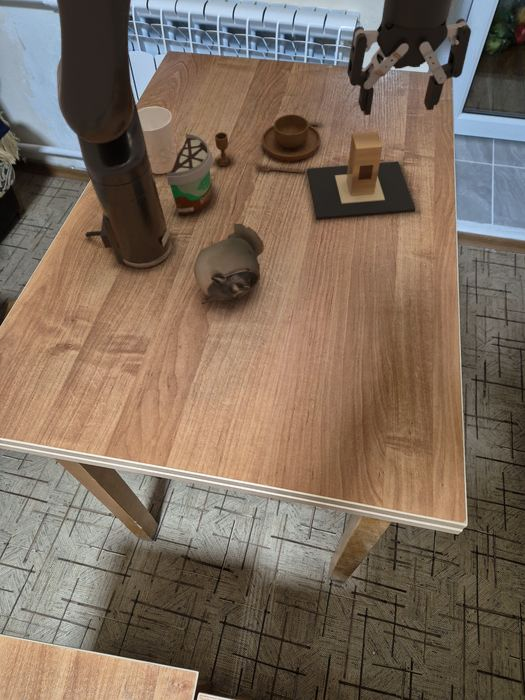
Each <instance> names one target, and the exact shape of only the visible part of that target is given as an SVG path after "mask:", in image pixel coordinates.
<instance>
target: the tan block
mask: <svg viewBox="0 0 525 700" xmlns="http://www.w3.org/2000/svg"><path fill="white" fill-rule="evenodd" d="M382 152H383V144H382V140H381V138H380V135H379V131H378V130H374V131H373V130H372V131H364V132H363V131H361V132H352V133H351V138H350V146H349V154H348V162H347V165H348V170H347V179H346V181H347V185H348V189H349V193H350V196H357V195H369V194H374V192H375V187H376V181H377V175H378V170H379V164H380V163H381V157H382Z"/></svg>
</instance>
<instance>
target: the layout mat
mask: <svg viewBox="0 0 525 700" xmlns="http://www.w3.org/2000/svg"><path fill="white" fill-rule="evenodd" d="M399 162H400V161H397V160H396V161H387V162H386V161H385V162H380V164H379V170H378V175H377V181H376V187H375V192H374V194H369V195H357V196H350V193H349V189H348V185H347V181H346V179H347V170H348V164H347V165H336V166H323V167H312V168H307V169H306V172H307V178H308V182H309V183H308V184H309V187H310V192H311V198H312V203H313V208H314V212H315V213H314V214H315V218H316V220H330V219H341V218H342V219H343V218H355V217H365V216H377V215H388V214H390V215H391V214H401V213H402V214H403V213H414V212H416V207H415V204H414V201H413V198H412V196H411V193H410V191H409V187H408V185H407V182H406V179H405V176H404V174H403V171H402V168H401V165H400V163H399Z"/></svg>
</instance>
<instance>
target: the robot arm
mask: <svg viewBox="0 0 525 700" xmlns="http://www.w3.org/2000/svg"><path fill="white" fill-rule="evenodd" d="M452 2H453V0H384V1H383V8H382V16H381V17H382V18H381V22H380V24H379V26H378V28H377V29H376V30H375V29H374V30H373V29H372V30H371V29H369V30H368V29H367V30H364V28H363V26H356V27H355V28H354V30H353V33H352V40H351V44H350V45H351V46H350V51H349V59H348V64H347V71H346V72H347V73H346V74H347V76H348V78H349V83H350V85H351V86H353V87H356V86H359V87H360V88H359V95H358V105H359V109H360V112H363V115H364V116H370V115H371V113H372V107H373V99H374V93H375V92H374V91H375V88H374V86H375V85H376V84H377V82H378V81H379V80H380V79H381V78H383V77H385V76H386V75H387V74H388V73H389V71H390V70H391V69H392V68H394V69H395V70H398V69H399V70H400V69H404V68H407V67H410V68H420V67H421V65H424V63H426V64H427V67H428V68H429V70H430V72H431V74H432V75H429V78H428V82H427V87H426V91H425V95H424V100H423V104H424V107H425V109H426V111H433V110H434V108H435V106H438V104H439V103H440V100H441V96H442V92H443V88H444V84H445V83H446V81H447V80H449V79H451V78H454V79H457V78H460V77H461V76H462V73H463V69H464V65H465V61H466V57H467V51H468V47H469V43H470V39H471V34H472V30H471V28H470V26H469V25H468V23H467V22H466V20H465V19H464V18H458V19H457V20H456V21H455V23H452V24H451V23H450V24H447V22H448V17H449V14H450V11H451V6H452ZM56 4H57V9H58V16H59V28H60V59H59V61H58V64H57V69H56V85H57V87H56V88H57V102H58V107H59V111H60V113H61V116H62V117H63V119H64V121H65V122H66V124H67V126H68V128H69V129H70V130H71V131H72V132H73V133H74V134H76V136H77V141H78V145H79V148H80V153H81V157H82V161H83V164H84V166H85V169H86V172H87V174H88V177H89V180H90V182H91V185H92V188H93V190H94V193H95V195H96V198H97V200H98V203H99V205H100V209H101V211H102V218H101V229H100V230H98V231H97V230H96V231H87V232H86V233H85V237H86V238H90V237H99V236H100V238H101V240H102V243H103V245H104V248H105V249H109V248H110V249H111V248H112V251H113V253H114V257H115V260H116V262H117V263H118V264H125V265H126V266H128V267H131V268H134V269H149V268H151V267H155V266H157V265H159V264H161V263H162V262H164V261H165V260H166V259H167V258H168V257H169V255H170V254H171V252H172V247H173V243H172V240H171V236H170V235H171V231H170V229H169V227H168V226H167V223H166V218H165V215H164V210H163V206H162V203H161V200H160V196H159V192H158V191H159V190H158V188H157V183H156V180H155V177H154V173H153V172H152V168H151V164H150V160H149V156H148V152H147V147H146V143H145V139H144V134H143V130H142V126H141V122H140V119H139V115H138V110H139V109H138V107H137V103H136V99H135V95H134V91H133V86H132V81H131V71H130V53H129V24H130V23H129V22H130V11H131V4H132V0H56ZM446 39H448V41H449V43H450V49H449V54H448V59H447V62H446V63H444V64H442V65H441V63H440V61H439V59H438V57H437V55H436V54H435V52H436V51H437V49H438V48H439V47H440V46H441V45H442V44H443V43H444V41H446ZM374 43H377V45H378V47H379V48H378V49H377V50H376V51H375V53H374V54H373V55H372V57H371V59H370V62H369V63H368V65H366V66H365V68H364V69H363V66H364V60H365V57H366V56H365V54H366V53H368V52H369V51H370V50H371V48H372V45H373V44H374Z"/></svg>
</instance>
